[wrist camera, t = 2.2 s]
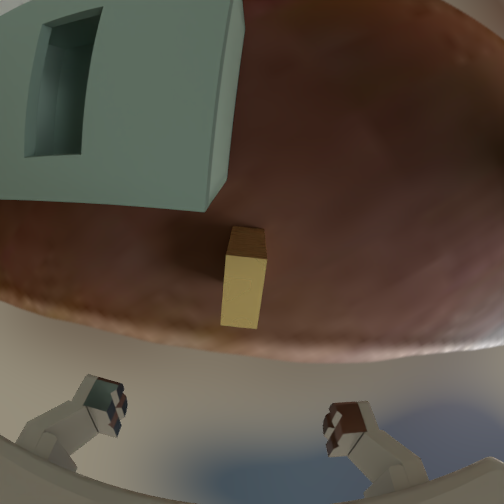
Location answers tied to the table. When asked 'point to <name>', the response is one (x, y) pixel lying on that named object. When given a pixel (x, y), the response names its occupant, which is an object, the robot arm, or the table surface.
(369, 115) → the table surface
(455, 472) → the robot arm
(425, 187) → the table surface
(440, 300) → the table surface
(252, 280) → the wooden yellow block
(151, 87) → the coin box
